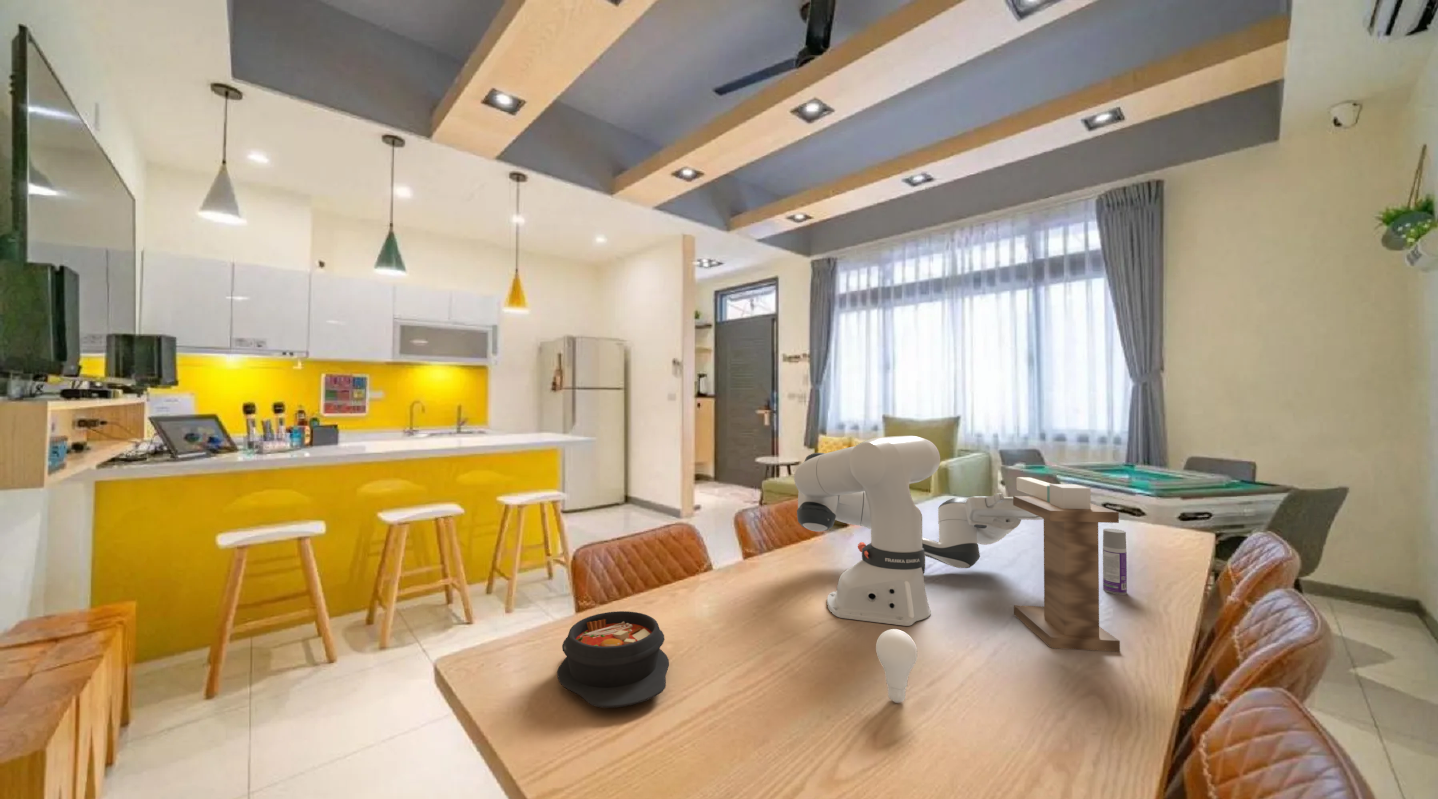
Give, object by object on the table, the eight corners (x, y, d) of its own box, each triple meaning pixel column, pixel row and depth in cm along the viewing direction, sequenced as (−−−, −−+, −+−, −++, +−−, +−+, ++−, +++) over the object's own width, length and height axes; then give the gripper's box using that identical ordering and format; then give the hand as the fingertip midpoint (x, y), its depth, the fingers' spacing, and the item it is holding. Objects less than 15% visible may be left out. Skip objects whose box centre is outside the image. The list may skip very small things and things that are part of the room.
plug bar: (1062, 508, 101) (1062, 487, 101) (1012, 489, 123) (1012, 472, 124) (1090, 509, 101) (1090, 488, 101) (1034, 490, 123) (1034, 473, 123)
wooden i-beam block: (1051, 648, 99) (1050, 510, 99) (1014, 614, 115) (1013, 496, 115) (1119, 651, 97) (1118, 512, 98) (1072, 616, 113) (1071, 497, 114)
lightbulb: (919, 696, 82) (918, 626, 83) (916, 717, 77) (915, 642, 77) (879, 687, 85) (878, 619, 85) (873, 707, 79) (873, 634, 80)
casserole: (548, 656, 96) (548, 610, 96) (645, 637, 104) (646, 594, 104) (569, 733, 73) (569, 673, 73) (692, 702, 81) (692, 648, 81)
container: (1118, 588, 131) (1118, 528, 131) (1131, 595, 126) (1131, 533, 126) (1098, 587, 131) (1098, 528, 132) (1110, 594, 127) (1110, 532, 127)
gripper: (1046, 528, 134) (1071, 510, 122) (962, 526, 137) (979, 508, 125) (1040, 504, 137) (1064, 485, 126) (958, 502, 140) (974, 483, 128)
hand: (1021, 496), depth 125 cm, fingers open, 8 cm apart
